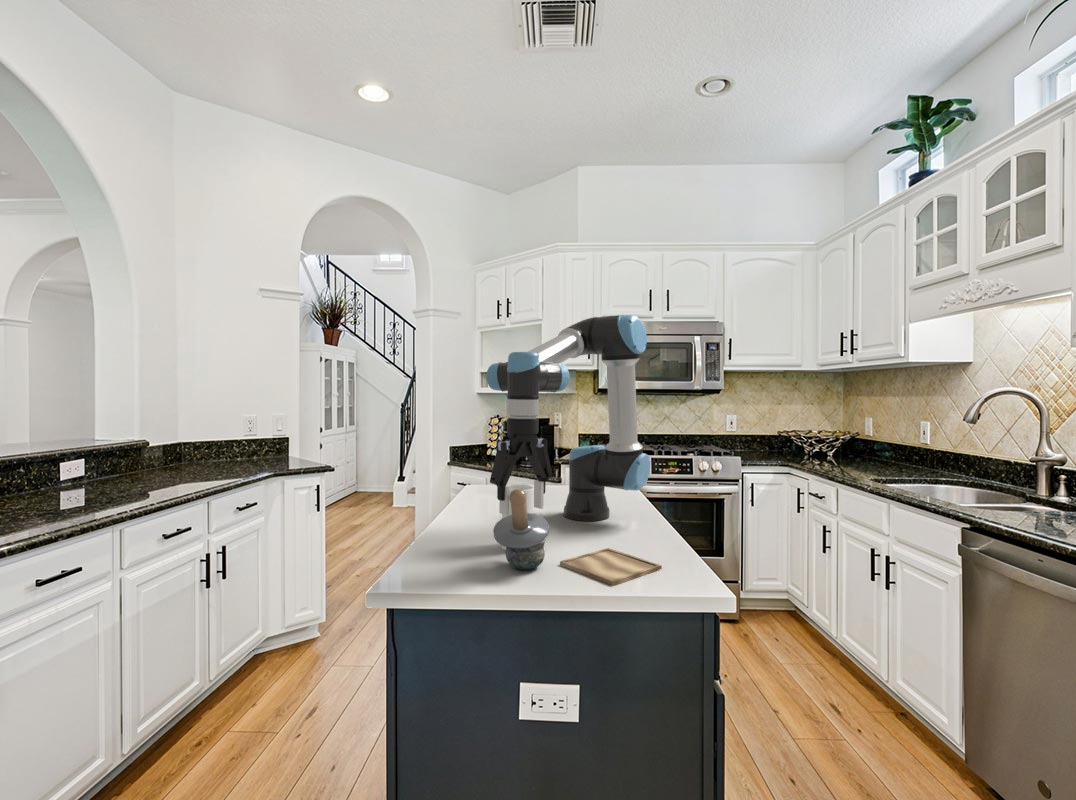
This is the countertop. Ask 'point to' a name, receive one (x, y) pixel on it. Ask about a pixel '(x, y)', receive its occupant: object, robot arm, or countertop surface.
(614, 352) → the robot arm
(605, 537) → the countertop surface
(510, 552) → the mug
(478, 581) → the countertop surface
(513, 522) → the lid
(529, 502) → the cup
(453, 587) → the countertop surface
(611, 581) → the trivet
